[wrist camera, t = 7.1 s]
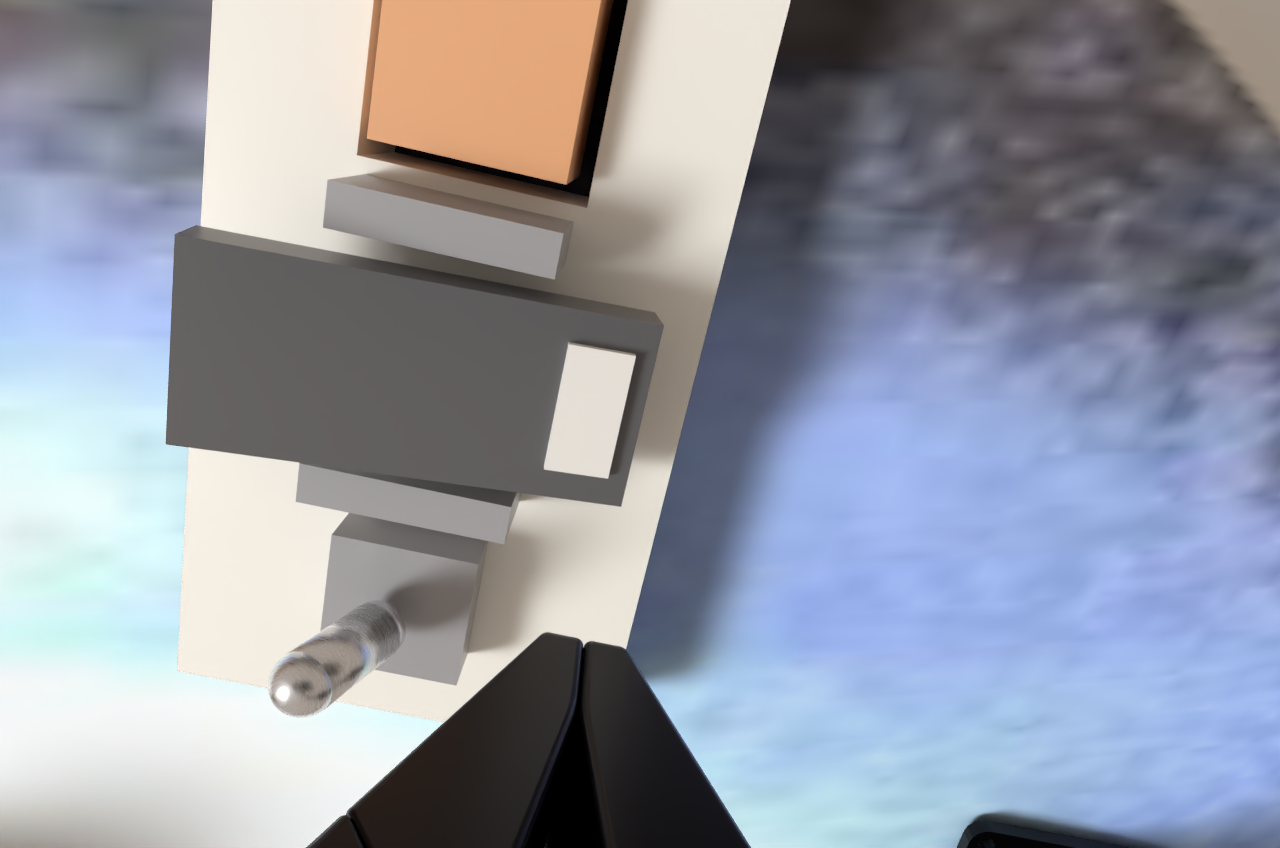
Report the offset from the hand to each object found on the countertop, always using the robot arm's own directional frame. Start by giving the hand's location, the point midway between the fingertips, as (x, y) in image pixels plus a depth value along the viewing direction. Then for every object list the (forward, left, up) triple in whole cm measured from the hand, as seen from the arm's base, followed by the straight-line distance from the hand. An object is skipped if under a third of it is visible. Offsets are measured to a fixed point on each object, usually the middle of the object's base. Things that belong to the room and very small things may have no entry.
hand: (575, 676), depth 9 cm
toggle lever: (+3, +5, -8) cm, 10 cm away
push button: (+4, -6, -12) cm, 13 cm away
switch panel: (+3, 0, -12) cm, 12 cm away
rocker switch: (+3, 0, -7) cm, 8 cm away
